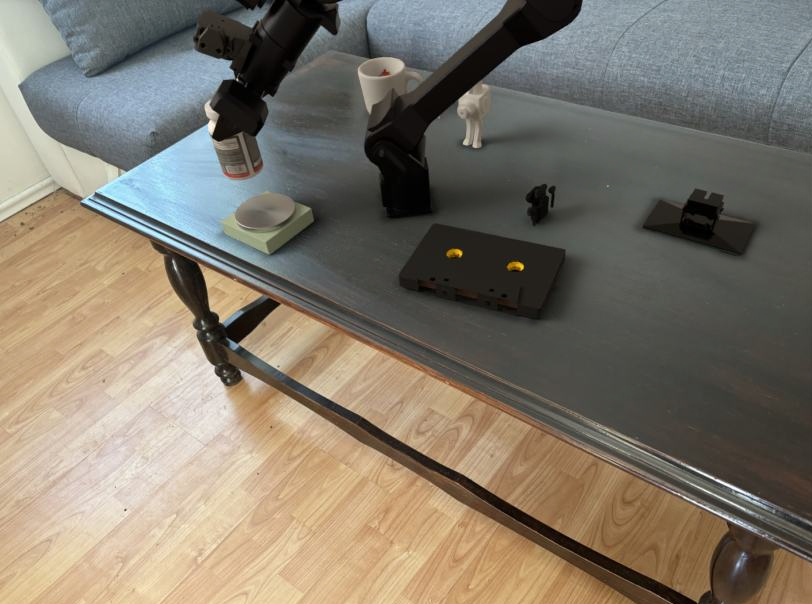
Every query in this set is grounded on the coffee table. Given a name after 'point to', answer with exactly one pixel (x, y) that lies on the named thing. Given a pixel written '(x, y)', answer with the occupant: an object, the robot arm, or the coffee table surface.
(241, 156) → the pill bottle
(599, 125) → the coffee table surface
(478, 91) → the toy robot
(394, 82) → the cup
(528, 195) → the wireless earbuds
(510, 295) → the cassette tape
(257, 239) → the scale
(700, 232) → the build plate
